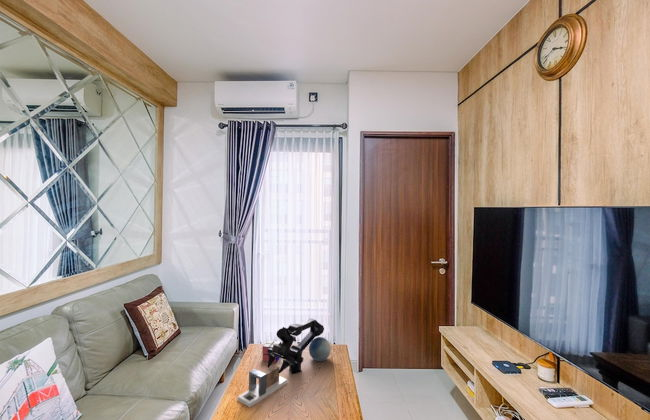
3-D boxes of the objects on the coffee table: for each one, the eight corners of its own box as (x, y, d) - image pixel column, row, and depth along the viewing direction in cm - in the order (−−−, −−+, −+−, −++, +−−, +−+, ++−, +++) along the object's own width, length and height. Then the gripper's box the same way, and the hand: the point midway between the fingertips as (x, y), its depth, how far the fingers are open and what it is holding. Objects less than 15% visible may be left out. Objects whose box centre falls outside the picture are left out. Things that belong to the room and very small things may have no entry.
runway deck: (275, 377, 192) (275, 373, 192) (287, 382, 186) (287, 379, 186) (237, 400, 170) (237, 396, 170) (249, 407, 164) (249, 403, 164)
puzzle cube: (276, 362, 209) (276, 348, 209) (262, 361, 212) (262, 346, 211) (281, 355, 219) (281, 341, 219) (267, 354, 221) (267, 340, 221)
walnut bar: (274, 378, 188) (274, 364, 187) (279, 380, 185) (279, 367, 185) (261, 386, 180) (261, 372, 179) (266, 388, 177) (266, 374, 177)
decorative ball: (317, 352, 224) (317, 331, 224) (335, 358, 216) (335, 337, 215) (304, 361, 212) (304, 339, 212) (322, 368, 203) (322, 345, 203)
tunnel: (254, 386, 179) (254, 368, 179) (266, 392, 173) (266, 374, 173) (248, 390, 176) (249, 371, 175) (260, 396, 170) (260, 377, 170)
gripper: (269, 334, 193) (255, 359, 185) (291, 343, 182) (277, 370, 174) (278, 342, 200) (265, 367, 191) (300, 351, 189) (287, 377, 180)
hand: (273, 370), depth 184 cm, fingers open, 9 cm apart
